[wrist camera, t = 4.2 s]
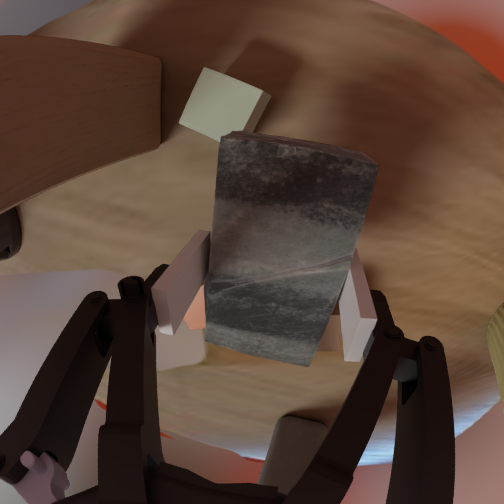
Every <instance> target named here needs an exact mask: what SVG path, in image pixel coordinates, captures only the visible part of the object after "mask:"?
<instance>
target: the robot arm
mask: <svg viewBox="0 0 504 504" xmlns="http://www.w3.org/2000/svg"><path fill="white" fill-rule="evenodd" d="M20 246H21V232H20V225H19V221H18V217H17V213H16V210H15V207H13V208H11V209H9V210H7V211H5V212H4V213H2V214H0V261H2V260H6V259H9V258H11V257H12V256H14V255H15V254H16V253H18V251H19V249H20ZM210 248H211V241H210V231H203V230H199V231H198V232H197V233H196V234H195V235H194V236H193V238H192V239H191V240H190V241H189V242H188V244H187V245H186V246H185V247H184V248H183V250H182V251H181V252H180V253H179V254H178V256H177V257H176V258H175V259H174V260H173V262H172V263H171V264H170V265H167V264H162V265H160V266H159V267H157V268H155V270H154V271H153V272H152V274H150V275H149V277H148V278H147V279H146V280H145V281H144V279H142V278H141V277H139V276H129V277H126V278H123V279H122V280H120V281H119V283H118V288H119V292H120V296H121V299H108V297H107V294H106V293H105V292H102V291H94V292H92V293H90V294H88V295H87V296H86V297H85V298H84V299H83V301H82V302H81V304H80V305H79V307H78V308H77V310H76V311H75V313H74V314H73V316H72V317H71V319H70V320H69V322H68V323H67V325H66V327H65V328H64V330H63V331H62V333H61V334H60V336H59V338H58V339H57V341H56V342H55V344H54V346H53V347H52V349H51V351H50V352H49V354H48V356H47V358H46V360H45V361H44V363H43V365H42V366H41V368H40V370H39V372H38V374H37V375H36V377H35V379H34V381H33V383H32V385H31V387H30V389H29V391H28V393H27V395H26V397H25V399H24V401H23V403H22V405H21V407H20V409H19V411H18V413H17V415H16V418H15V420H14V421H13V422H12V423H11V424H10V426H8V428H7V429H6V430H5V431H4V432H3V433H2V434H1V436H0V479H2V480H4V481H5V482H7V483H8V484H10V485H12V486H13V487H14V488H15V489H16V490H17V492H18V493H19V494H20V495H21V496H22V497H23V498H24V499H25V500H26V502H27V503H28V504H340V503H341V501H342V500H343V498H344V496H345V494H346V493H347V491H348V489H349V487H350V485H351V483H352V481H353V473H354V470H355V469H356V467H357V465H358V463H359V461H360V459H361V456H362V454H363V452H364V450H365V448H366V446H367V444H368V441H369V439H370V437H371V435H372V432H373V430H374V427H375V425H376V423H377V420H378V418H379V415H380V413H381V410H382V407H383V405H384V402H385V399H386V396H387V394H388V391H389V388H390V385H391V382H392V379H394V380H397V381H398V402H397V422H396V435H395V446H394V455H393V463H392V471H391V478H390V484H389V489H388V495H387V500H386V504H453V497H454V481H455V434H454V418H453V407H452V398H451V390H450V382H449V376H448V369H447V363H446V358H445V353H444V347H443V345H442V343H441V342H440V341H439V340H438V339H436V338H435V337H432V336H424V337H422V338H421V339H420V341H419V342H417V341H413V340H410V339H407V338H405V337H404V333H403V332H402V330H401V329H400V328H399V327H397V326H395V324H394V321H393V318H392V315H391V312H390V309H389V306H388V304H387V300H386V297H385V296H384V295H383V293H382V292H381V291H378V290H369V287H368V283H367V280H366V277H365V274H364V270H363V267H362V264H361V261H360V258H359V255H358V252H357V249H356V248H355V250H354V253H353V260H352V264H351V267H350V269H349V270H348V273H347V276H346V278H345V281H344V284H343V286H342V289H341V292H340V294H339V297H338V301H339V309H340V318H341V328H342V338H343V349H344V361H353V362H360V360H361V357H362V355H363V357H364V362H363V364H362V366H361V368H360V370H359V372H358V375H357V377H356V379H355V381H354V383H353V385H352V387H351V390H350V392H349V394H348V396H347V397H346V399H345V401H344V403H343V405H342V407H341V409H340V411H339V413H338V415H337V416H336V418H335V420H334V422H333V424H332V425H331V427H330V429H329V431H328V432H327V434H326V436H325V437H324V439H323V441H322V442H321V444H320V446H319V447H318V449H317V451H316V452H315V454H314V455H313V457H312V458H311V460H310V462H309V463H308V465H307V466H306V468H305V469H304V471H303V472H302V474H301V475H300V476H299V478H298V479H297V481H296V482H295V483H294V485H293V486H292V487H291V489H290V490H289V491H288V493H287V494H283V493H281V492H278V487H277V486H268V485H260V484H253V483H231V484H217V483H213V482H211V481H209V480H207V479H205V478H203V477H201V476H199V475H197V474H195V473H193V472H191V471H190V470H187V469H184V468H181V467H177V466H174V465H171V464H167V463H165V461H164V457H163V454H162V447H161V438H160V427H159V414H158V398H157V375H156V334H155V329H156V327H157V325H159V330H160V333H164V334H169V335H173V336H174V334H175V332H176V330H177V328H178V327H179V325H180V323H181V321H182V319H183V318H184V316H185V314H186V312H187V311H188V309H189V307H190V305H191V304H192V302H193V300H194V298H195V296H196V295H197V293H198V291H199V289H200V288H201V286H202V284H203V282H204V281H205V279H206V277H207V275H208V274H209V262H210ZM111 355H112V358H111ZM110 358H111V365H110V374H109V384H108V395H107V408H106V422H105V425H102V426H101V427H100V428H99V434H98V485H97V486H95V487H92V488H90V489H87V490H85V491H83V492H80V493H77V494H75V495H72V496H69V497H67V498H65V495H64V490H66V489H68V487H69V484H70V483H69V480H68V479H67V474H66V471H67V469H68V467H69V465H70V463H71V461H72V459H73V457H74V454H75V451H76V448H77V445H78V442H79V439H80V436H81V433H82V430H83V427H84V424H85V421H86V418H87V416H88V413H89V410H90V408H91V405H92V402H93V400H94V397H95V394H96V392H97V389H98V387H99V384H100V382H101V379H102V377H103V374H104V372H105V370H106V367H107V365H108V362H109V360H110Z"/></svg>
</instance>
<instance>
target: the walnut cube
mask: <svg viewBox="0 0 504 504" xmlns="http://www.w3.org/2000/svg"><path fill="white" fill-rule="evenodd" d="M340 329H341V318H340V309H339V301H338V299H337V302H336V305H335V307H334V309H333V312H332V314H331V316H330V319H329V322H328V324H327V326H326V329H325V331H324V334H323V337H322V339H321V341H320V344H319V346H318V348H317V350H316V351H338V350H339V340H340Z"/></svg>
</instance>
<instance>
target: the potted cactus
mask: <svg viewBox="0 0 504 504" xmlns="http://www.w3.org/2000/svg"><path fill="white" fill-rule="evenodd" d="M486 342H487V346H488V349H489V352H490V356H491V359H492V363H493V366H494V370H495V374H496V378H497V383H498V387H499V392H500V397H501V402H502V407H503V414H504V303H503V304H502V305H501V306H500V307H499V308H498V310H497V311H496V312H495V314H494V315H493V317H492V319H491V321H490V323H489V325H488V328H487V331H486Z"/></svg>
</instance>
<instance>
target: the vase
mask: <svg viewBox="0 0 504 504" xmlns="http://www.w3.org/2000/svg"><path fill="white" fill-rule="evenodd" d="M328 431H329V429H328V428H327V427H326V426H325V425H323V424H321V423H319V422H315V421H310V420H305V419H302V418H298V417H293V416H287V417H283V418H281V419H279V420H278V422H277V424H276V426H275V429H274V433H273V436H272V440H271V443H270V447H269V450H268V453H267V456H266V459H265V462H264V465H263V468H262V471H261V474H260V476H259V479H258V482H257V484H260V485H268V486H277V487H278V492H281V493H283V494H287V493H288V491H289V490H290V489H291V487H292V486H293V485H294V483H295V482H296V481H297V479H298V478H299V476H300V475H301V474H302V472H303V471H304V469H305V468H306V466H307V465H308V463H309V462H310V460H311V458H312V457H313V455H314V454H315V452H316V451H317V449H318V447H319V446H320V444H321V442H322V441H323V439H324V437H325V436H326V434H327V432H328Z"/></svg>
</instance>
